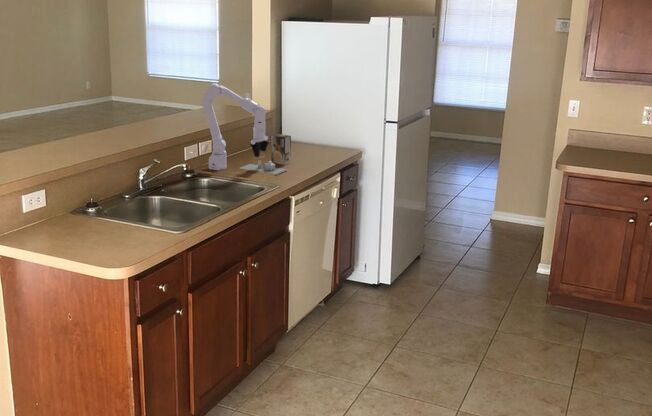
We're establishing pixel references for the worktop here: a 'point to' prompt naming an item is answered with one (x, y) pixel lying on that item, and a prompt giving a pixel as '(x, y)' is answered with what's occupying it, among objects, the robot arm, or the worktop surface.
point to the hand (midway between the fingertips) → (259, 155)
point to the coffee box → (281, 149)
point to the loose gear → (261, 154)
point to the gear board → (264, 168)
